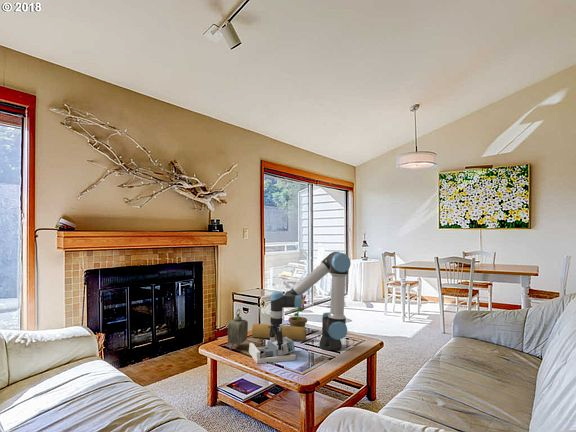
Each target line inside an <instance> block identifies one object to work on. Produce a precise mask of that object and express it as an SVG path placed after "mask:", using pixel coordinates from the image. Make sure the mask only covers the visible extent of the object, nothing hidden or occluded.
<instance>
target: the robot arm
mask: <svg viewBox="0 0 576 432" xmlns="http://www.w3.org/2000/svg"><path fill="white" fill-rule="evenodd" d="M351 262H352V261H351V258H350V257H349V255H347V254H345V253H344V252H339V251H333V252H330V253H329V254H328V255H327V256H326V257H325V258H323V259H322V260H321V262H320V264H318V266H316V268H314V269H313V270H312V271H311V272H310V273H308V274H307V275H306V276H305V277H303V278H302V279H301V280H300V281H299V282H298V283H297V284H295V286H293V287H292V288H291V289H290V290H287V291H285V293H284V292H282V291H273V292H271V294H270V312H269V314H270V318H269V319H270V320H269V321H270V325H271V328H270V333H269V335H270V337H271V338H270V339H269V341H270V342H274V341H276V340H277V343H278V344H277V349H278V356H279V355H282V344H283V338H282V328H281V327H280V325H282V324H283V317H284V316H283V309H284V308H287V309H288V308H290V309H291V308H292V309H293V308H294V309H298V308H299V307H301V306H302V297H301V295H305V293H306V292H307V291H308V290H310V289H311V288H312V287H313V286H314V285H316V283H318V282H319V281H320V280H321V279H322V278H324V277H325V276H326V275H328V274H330V275H331V290H330V291H331V292H330V311H329V312H323V313H322V317H321V318H322V322H321V323H322V325H321V330H322V332H321V337H320V340H319V342H318V347H319V348H320V349H321V350H324V351H328V350H337V351H339V350H338V349H341V348H343V344H342V341H341V340H342V339H344V338H345V337H346V336H347V335H348V326H347V324H346V323H347V322H346V321H347V316H346V315H345V313H344V311H345V296H346V294H345V293H346V278H347V276H348V275H349V269H350V267H351V264H352V263H351ZM301 308H302V307H301ZM275 334H276V337H277V339H275ZM280 342H281V343H280ZM341 350H342V349H341Z"/></svg>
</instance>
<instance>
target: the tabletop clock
mask: <svg viewBox="0 0 576 432" xmlns="http://www.w3.org/2000/svg"><path fill="white" fill-rule="evenodd" d="M238 312H239V313H238ZM235 315H236V316H235V317H234V318H233V319H231V320H230V321H228V326H227V343H228V344H232V345H231V347H229V350H231V351H232V350H233V347H234V345H236V346H237V345H239V348H240V349H242V346H243V345H242V344H243V343H244V342H245V341H247V339H248V334H249V333H248V331H249V325H248V324H249V323H248V320H246V319H244V318H242V317H241V316H240V315H241V309H237V310H236V312H235Z"/></svg>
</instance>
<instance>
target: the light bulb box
mask: <svg viewBox="0 0 576 432" xmlns="http://www.w3.org/2000/svg"><path fill="white" fill-rule="evenodd" d="M271 343H272V344H273V345H274V346H275V347H276V348H277V344H278V343H277V339H275V341H274V342H271ZM280 343H281V342H280ZM290 352H291V353H292V352H296V349H295V343H294V340H291V339H289V338H287V337H284V338H283V344H282V355H278V356H286V355H288V353H290Z"/></svg>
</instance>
